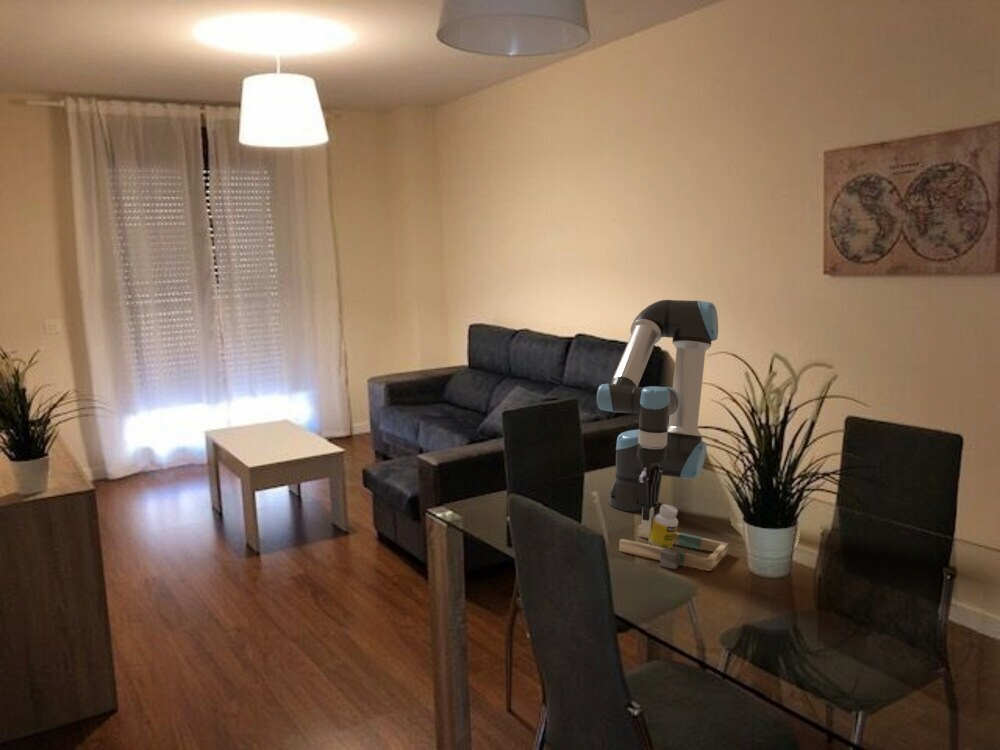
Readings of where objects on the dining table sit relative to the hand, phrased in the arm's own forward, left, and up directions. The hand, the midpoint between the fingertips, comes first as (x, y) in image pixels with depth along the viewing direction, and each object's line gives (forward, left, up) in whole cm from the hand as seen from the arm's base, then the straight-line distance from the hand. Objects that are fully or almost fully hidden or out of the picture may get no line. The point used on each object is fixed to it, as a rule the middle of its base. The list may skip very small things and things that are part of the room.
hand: (646, 530), depth 220 cm
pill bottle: (0, +3, -4) cm, 6 cm away
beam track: (+1, +7, -5) cm, 9 cm away
